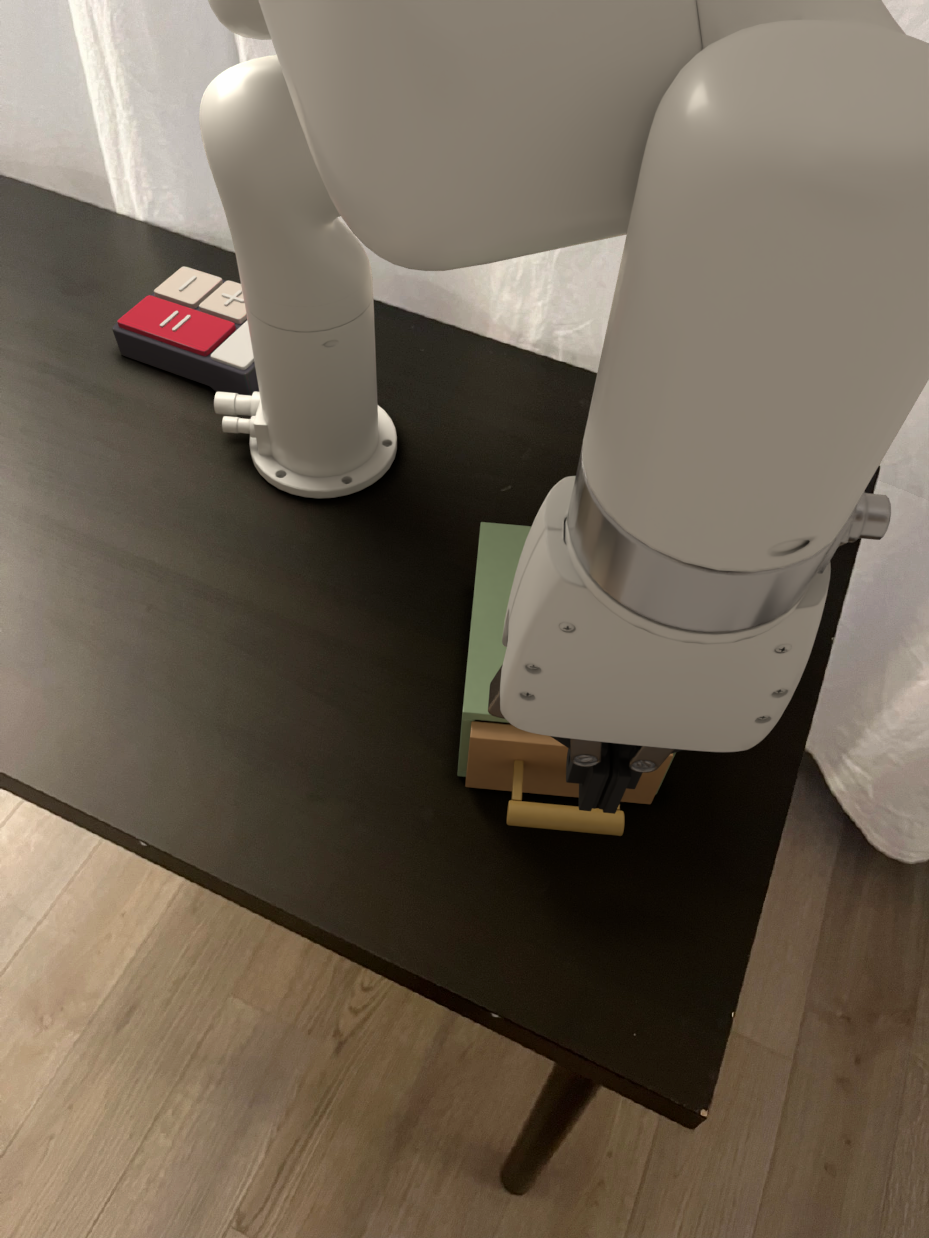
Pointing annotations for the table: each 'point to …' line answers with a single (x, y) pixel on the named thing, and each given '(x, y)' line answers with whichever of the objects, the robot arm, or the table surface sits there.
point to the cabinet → (489, 623)
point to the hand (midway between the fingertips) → (596, 781)
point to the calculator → (193, 332)
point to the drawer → (542, 779)
